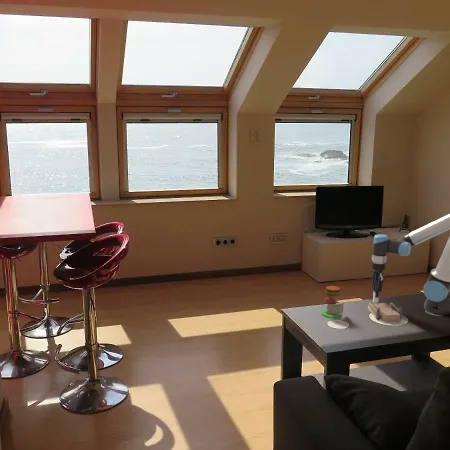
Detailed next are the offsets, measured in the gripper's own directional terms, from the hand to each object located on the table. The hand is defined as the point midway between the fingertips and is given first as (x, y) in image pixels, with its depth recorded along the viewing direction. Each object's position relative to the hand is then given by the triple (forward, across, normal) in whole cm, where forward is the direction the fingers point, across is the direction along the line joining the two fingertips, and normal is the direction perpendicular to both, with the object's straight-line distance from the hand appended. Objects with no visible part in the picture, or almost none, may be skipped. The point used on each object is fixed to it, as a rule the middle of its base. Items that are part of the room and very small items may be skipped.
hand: (375, 301), depth 281 cm
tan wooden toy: (+2, +12, 0) cm, 12 cm away
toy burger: (+3, +11, -29) cm, 31 cm away
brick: (+3, +15, 0) cm, 15 cm away
